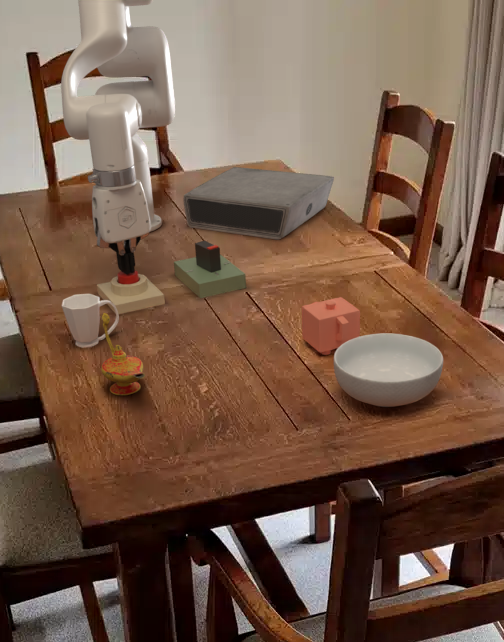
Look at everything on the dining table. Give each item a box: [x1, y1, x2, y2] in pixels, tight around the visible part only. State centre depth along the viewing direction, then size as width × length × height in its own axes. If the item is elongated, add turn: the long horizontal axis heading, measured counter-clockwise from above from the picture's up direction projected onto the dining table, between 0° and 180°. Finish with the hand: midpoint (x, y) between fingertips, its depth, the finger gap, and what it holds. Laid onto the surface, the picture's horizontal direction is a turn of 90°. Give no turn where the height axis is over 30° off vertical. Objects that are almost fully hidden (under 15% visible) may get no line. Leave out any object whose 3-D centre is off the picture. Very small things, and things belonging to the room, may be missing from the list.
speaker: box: [182, 166, 335, 241], centre depth 223 cm, size 24×8×30 cm
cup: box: [61, 293, 120, 348], centre depth 171 cm, size 7×10×8 cm
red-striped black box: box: [194, 240, 221, 272], centre depth 191 cm, size 6×2×5 cm, turn 36°
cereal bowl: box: [333, 332, 444, 408], centre depth 149 cm, size 17×17×7 cm
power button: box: [117, 269, 139, 284], centre depth 186 cm, size 4×4×2 cm
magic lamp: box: [100, 312, 146, 396], centre depth 153 cm, size 7×18×11 cm, turn 25°
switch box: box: [96, 273, 166, 315], centre depth 187 cm, size 12×10×4 cm
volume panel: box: [173, 253, 247, 299], centre depth 193 cm, size 14×10×3 cm
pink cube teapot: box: [301, 296, 361, 356], centre depth 165 cm, size 8×12×8 cm, turn 24°
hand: (127, 271), depth 185 cm, fingers closed
